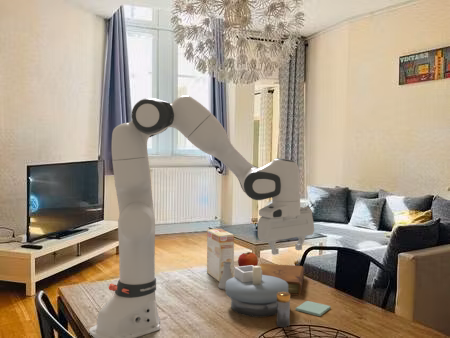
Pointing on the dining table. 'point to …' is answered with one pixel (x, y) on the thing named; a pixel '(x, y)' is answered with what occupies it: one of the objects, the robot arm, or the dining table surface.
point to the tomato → (247, 259)
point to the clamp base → (254, 308)
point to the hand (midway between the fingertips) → (287, 251)
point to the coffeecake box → (219, 252)
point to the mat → (313, 308)
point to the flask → (225, 275)
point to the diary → (286, 275)
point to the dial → (254, 285)
